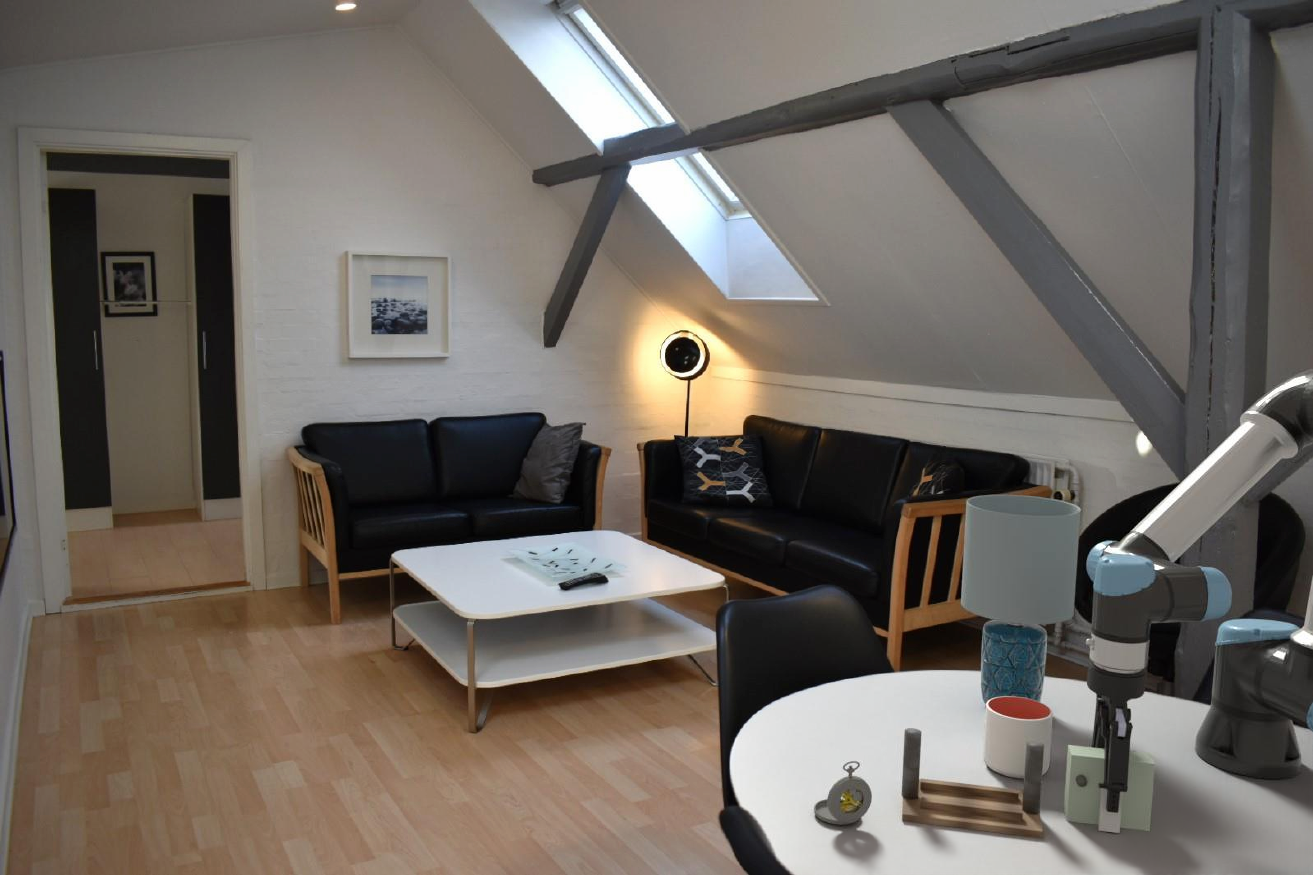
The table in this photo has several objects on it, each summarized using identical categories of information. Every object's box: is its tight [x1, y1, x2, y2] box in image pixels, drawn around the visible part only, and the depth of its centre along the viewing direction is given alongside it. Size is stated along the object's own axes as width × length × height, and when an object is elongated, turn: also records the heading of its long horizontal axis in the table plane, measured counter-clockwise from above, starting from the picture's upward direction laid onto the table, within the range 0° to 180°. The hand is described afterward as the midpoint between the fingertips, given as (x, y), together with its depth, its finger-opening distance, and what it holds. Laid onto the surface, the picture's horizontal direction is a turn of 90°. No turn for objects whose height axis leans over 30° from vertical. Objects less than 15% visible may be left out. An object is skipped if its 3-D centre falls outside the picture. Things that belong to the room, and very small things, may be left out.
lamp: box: [960, 494, 1082, 705], centre depth 192 cm, size 19×19×38 cm
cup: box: [982, 696, 1054, 780], centre depth 169 cm, size 10×10×10 cm
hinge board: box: [901, 727, 1044, 839], centre depth 155 cm, size 19×12×11 cm, turn 76°
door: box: [1063, 744, 1156, 832], centre depth 152 cm, size 11×4×10 cm, turn 76°
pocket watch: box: [813, 760, 873, 826], centre depth 151 cm, size 8×8×10 cm
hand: (1104, 818), depth 153 cm, fingers open, 6 cm apart
